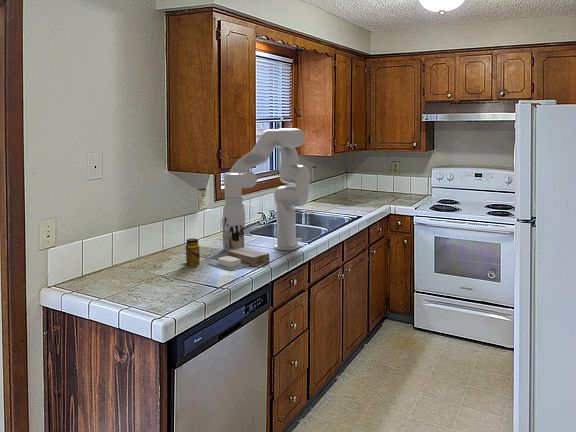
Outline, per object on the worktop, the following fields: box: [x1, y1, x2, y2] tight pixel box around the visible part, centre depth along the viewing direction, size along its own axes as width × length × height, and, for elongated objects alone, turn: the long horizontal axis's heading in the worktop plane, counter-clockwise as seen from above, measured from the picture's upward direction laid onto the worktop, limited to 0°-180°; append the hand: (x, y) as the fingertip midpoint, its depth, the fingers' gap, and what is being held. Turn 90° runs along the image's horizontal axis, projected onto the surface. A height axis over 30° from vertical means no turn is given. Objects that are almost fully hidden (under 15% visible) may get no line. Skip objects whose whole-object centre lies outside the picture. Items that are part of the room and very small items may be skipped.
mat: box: [208, 260, 252, 272], centre depth 248 cm, size 12×16×1 cm
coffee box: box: [221, 217, 245, 252], centre depth 277 cm, size 9×6×16 cm
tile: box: [217, 255, 241, 267], centre depth 247 cm, size 6×9×2 cm, turn 45°
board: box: [227, 246, 270, 267], centre depth 255 cm, size 10×18×4 cm, turn 45°
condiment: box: [181, 237, 202, 269], centre depth 248 cm, size 7×8×12 cm
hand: (235, 240), depth 249 cm, fingers closed
